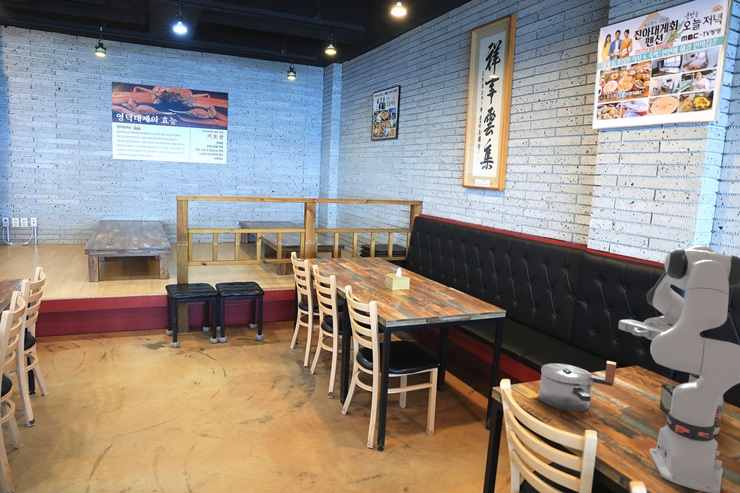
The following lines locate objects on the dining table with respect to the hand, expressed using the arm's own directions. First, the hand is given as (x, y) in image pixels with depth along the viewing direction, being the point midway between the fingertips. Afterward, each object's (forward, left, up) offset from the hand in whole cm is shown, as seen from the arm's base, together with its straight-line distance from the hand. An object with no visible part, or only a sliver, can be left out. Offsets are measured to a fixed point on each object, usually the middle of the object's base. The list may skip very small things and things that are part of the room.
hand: (635, 333), depth 185 cm
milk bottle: (-8, -24, -28) cm, 38 cm away
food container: (-1, -15, -28) cm, 32 cm away
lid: (-12, +18, -18) cm, 28 cm away
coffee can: (+12, -25, -28) cm, 40 cm away
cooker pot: (-15, +20, -28) cm, 38 cm away
